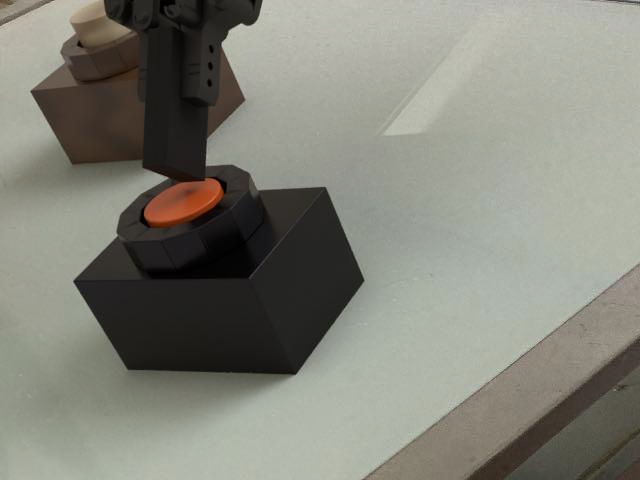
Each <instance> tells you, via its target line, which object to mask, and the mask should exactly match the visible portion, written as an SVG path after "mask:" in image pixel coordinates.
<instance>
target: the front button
mask: <svg viewBox="0 0 640 480" xmlns="http://www.w3.org/2000/svg"><path fill="white" fill-rule="evenodd" d="M224 195H225V194H224V191H223V189H222V187H221V185H220V183H219V182H218V181H216V180H214V179H211V178H205V181H199V182H183V183H179V184H177V185H175V186H172V187H170V188H168V189H167V190H165V191H163V192H162V193H160V194H159V195H157V196H156V197H155V198H154V199H153V200H151V201H150V203H149V204H148V205H147V206H146V208H145V211H144V216H145V219H146V221H147V222H148V224H149V226H150V228H167V227H172V226H175V225H178V224H181V223H185V222H188V221H191V220H193V219H194V218H196V217H198V216H199V215H201V214H203V213H205V212H206V211H208V210H210V209H211V208H213V207H214V206H215V205H216V204H217V203H218V202H219V201H220V200H221V198H222V197H223V196H224Z"/></svg>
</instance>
